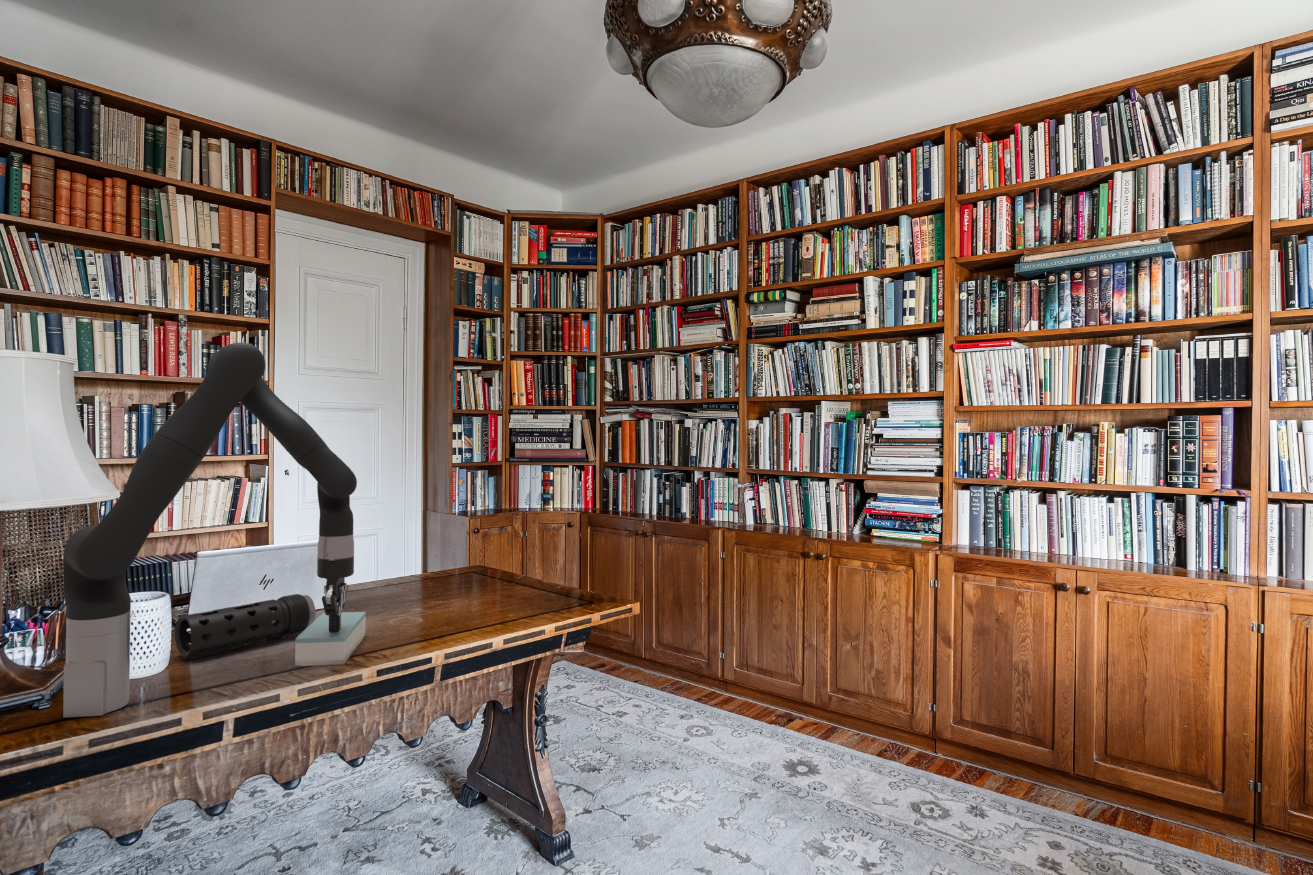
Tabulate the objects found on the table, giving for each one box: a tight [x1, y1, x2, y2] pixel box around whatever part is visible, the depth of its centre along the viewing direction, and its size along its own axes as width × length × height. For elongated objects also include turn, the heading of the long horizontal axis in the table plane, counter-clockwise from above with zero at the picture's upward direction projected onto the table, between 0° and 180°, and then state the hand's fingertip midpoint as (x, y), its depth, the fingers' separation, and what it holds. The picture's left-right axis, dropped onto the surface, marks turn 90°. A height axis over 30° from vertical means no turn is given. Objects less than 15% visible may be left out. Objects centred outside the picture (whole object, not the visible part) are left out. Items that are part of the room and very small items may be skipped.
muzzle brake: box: [174, 593, 316, 661], centre depth 166 cm, size 10×28×10 cm, turn 145°
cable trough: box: [294, 616, 367, 667], centre depth 164 cm, size 22×10×5 cm, turn 11°
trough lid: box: [294, 611, 367, 644], centre depth 164 cm, size 22×10×1 cm, turn 11°
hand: (334, 631), depth 158 cm, fingers closed
